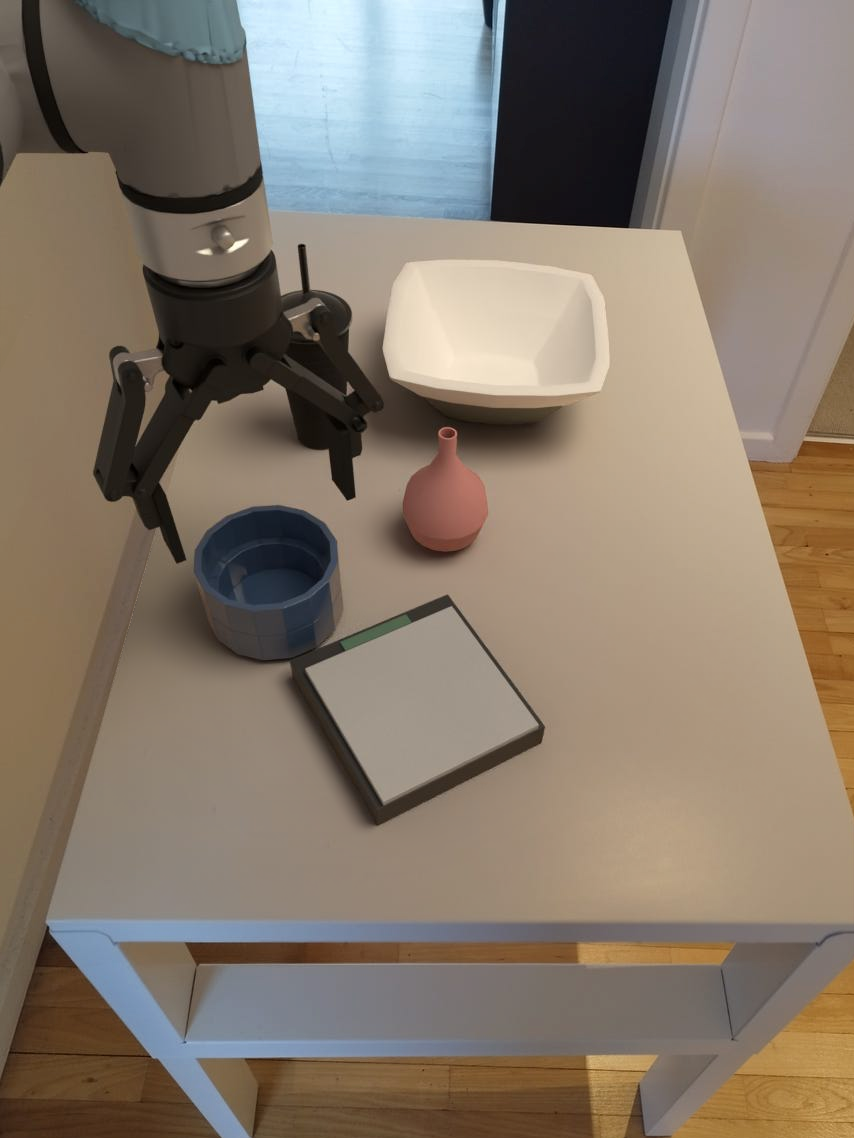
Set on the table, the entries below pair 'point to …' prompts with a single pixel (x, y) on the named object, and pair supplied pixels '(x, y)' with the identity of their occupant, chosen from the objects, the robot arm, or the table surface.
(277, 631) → the blue bowl
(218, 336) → the robot arm
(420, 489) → the pink bud vase
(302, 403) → the drinking cup
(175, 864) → the table surface
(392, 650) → the scale
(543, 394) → the bowl
